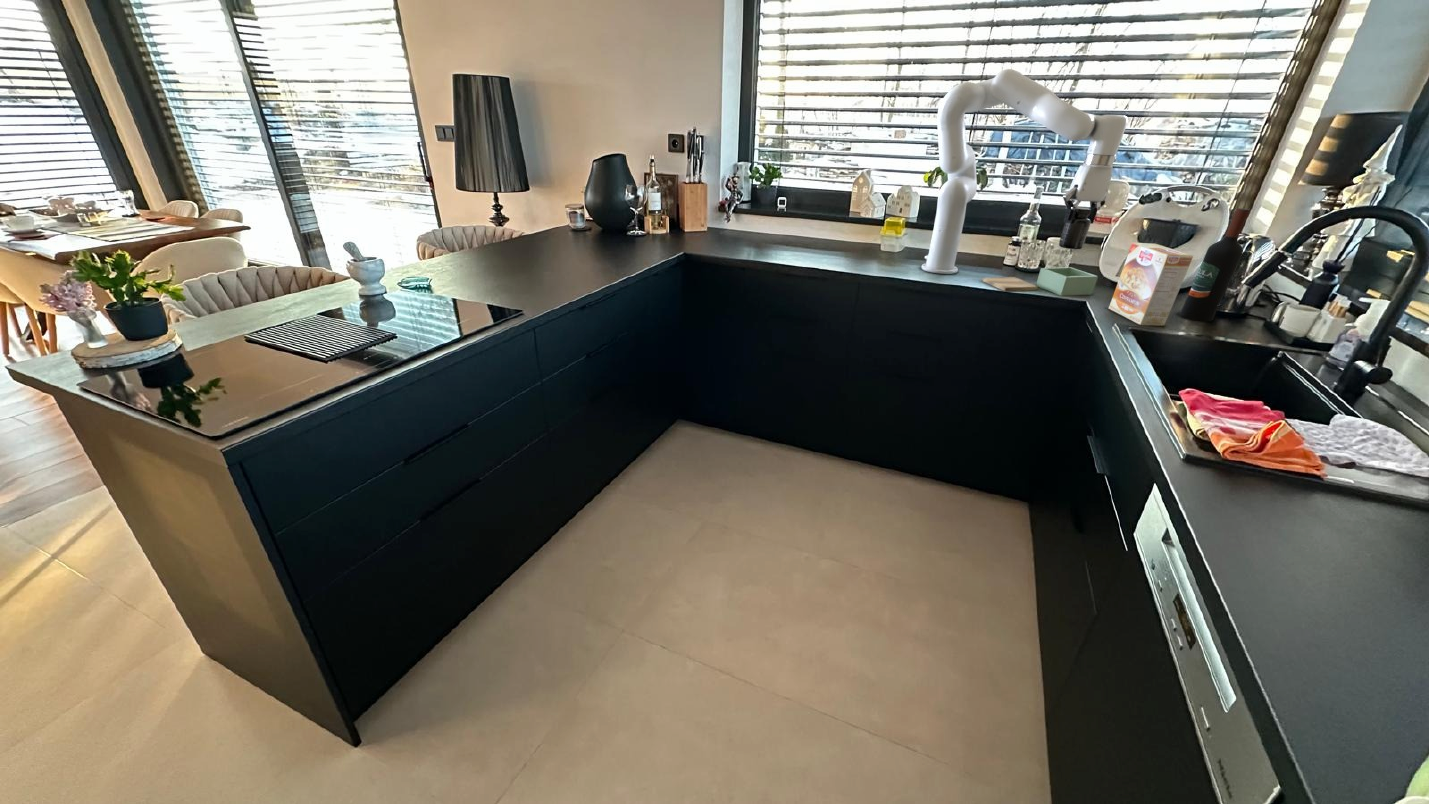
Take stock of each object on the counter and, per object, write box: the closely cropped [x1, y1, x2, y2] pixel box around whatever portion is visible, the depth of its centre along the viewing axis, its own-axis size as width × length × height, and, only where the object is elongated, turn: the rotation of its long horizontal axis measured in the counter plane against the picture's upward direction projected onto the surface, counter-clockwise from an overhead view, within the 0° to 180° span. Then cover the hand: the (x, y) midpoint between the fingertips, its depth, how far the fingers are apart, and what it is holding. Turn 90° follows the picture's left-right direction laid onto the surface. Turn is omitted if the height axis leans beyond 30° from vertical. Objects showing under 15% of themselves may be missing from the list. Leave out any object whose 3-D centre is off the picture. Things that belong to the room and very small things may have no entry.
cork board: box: [982, 276, 1039, 292], centre depth 187 cm, size 12×12×1 cm
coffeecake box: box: [1108, 242, 1194, 327], centre depth 155 cm, size 15×7×20 cm, turn 178°
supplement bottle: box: [1058, 206, 1091, 250], centre depth 175 cm, size 7×7×12 cm
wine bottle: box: [1179, 207, 1251, 323], centre depth 154 cm, size 8×8×30 cm
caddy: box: [1035, 266, 1099, 297], centre depth 182 cm, size 12×12×6 cm
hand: (1078, 222), depth 174 cm, fingers closed on supplement bottle, 6 cm apart
